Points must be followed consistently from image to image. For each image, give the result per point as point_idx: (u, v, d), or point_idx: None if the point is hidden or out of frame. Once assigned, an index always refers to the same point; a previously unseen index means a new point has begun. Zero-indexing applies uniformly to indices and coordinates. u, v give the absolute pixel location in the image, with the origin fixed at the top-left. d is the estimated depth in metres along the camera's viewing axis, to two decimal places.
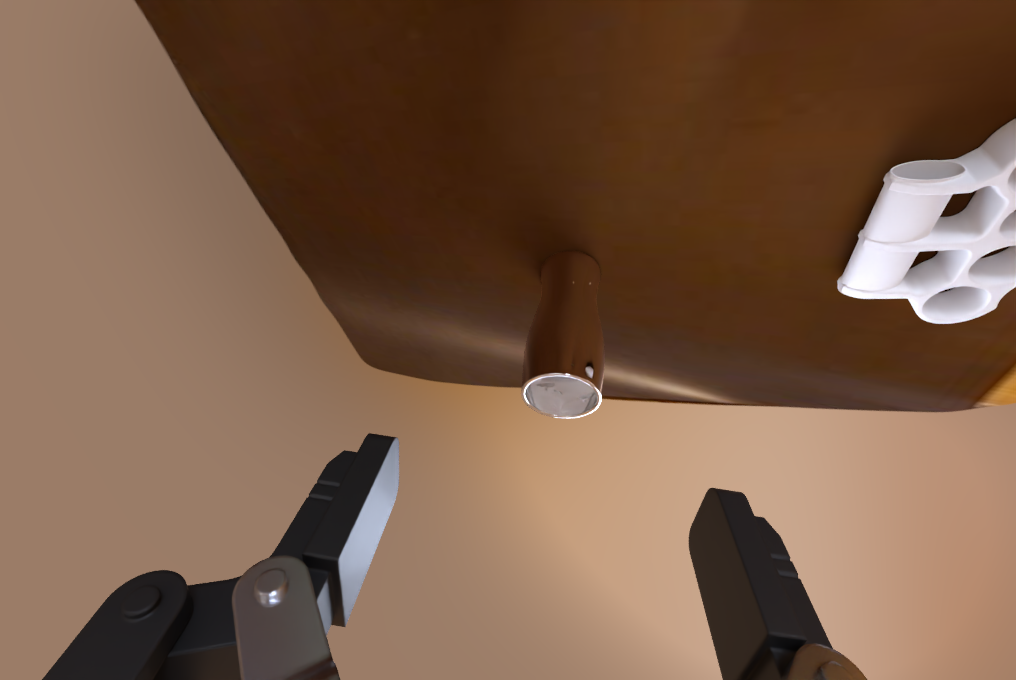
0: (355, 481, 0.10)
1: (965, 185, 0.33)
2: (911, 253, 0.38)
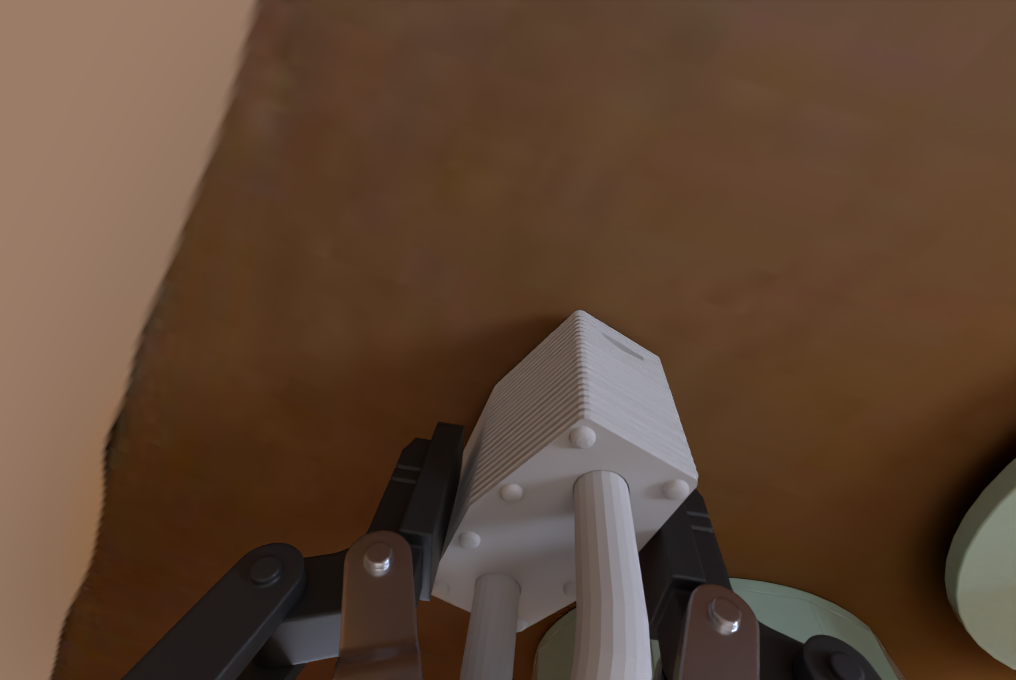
0: (435, 465, 0.11)
1: None
2: None
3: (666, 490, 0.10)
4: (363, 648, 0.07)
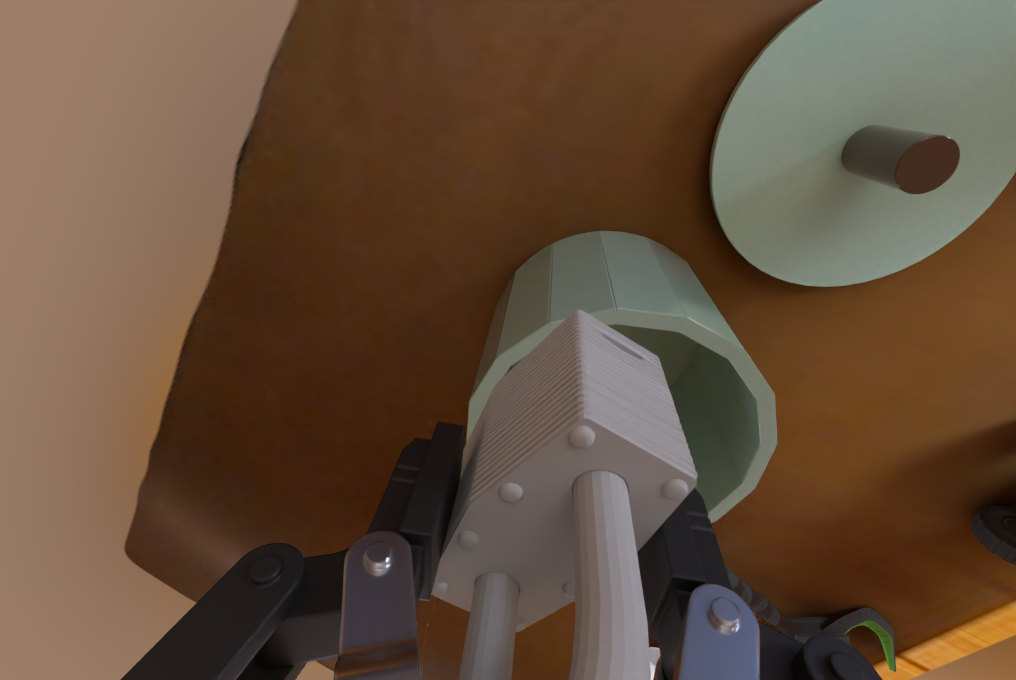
0: (435, 465, 0.11)
1: None
2: None
3: (665, 489, 0.09)
4: (363, 648, 0.07)
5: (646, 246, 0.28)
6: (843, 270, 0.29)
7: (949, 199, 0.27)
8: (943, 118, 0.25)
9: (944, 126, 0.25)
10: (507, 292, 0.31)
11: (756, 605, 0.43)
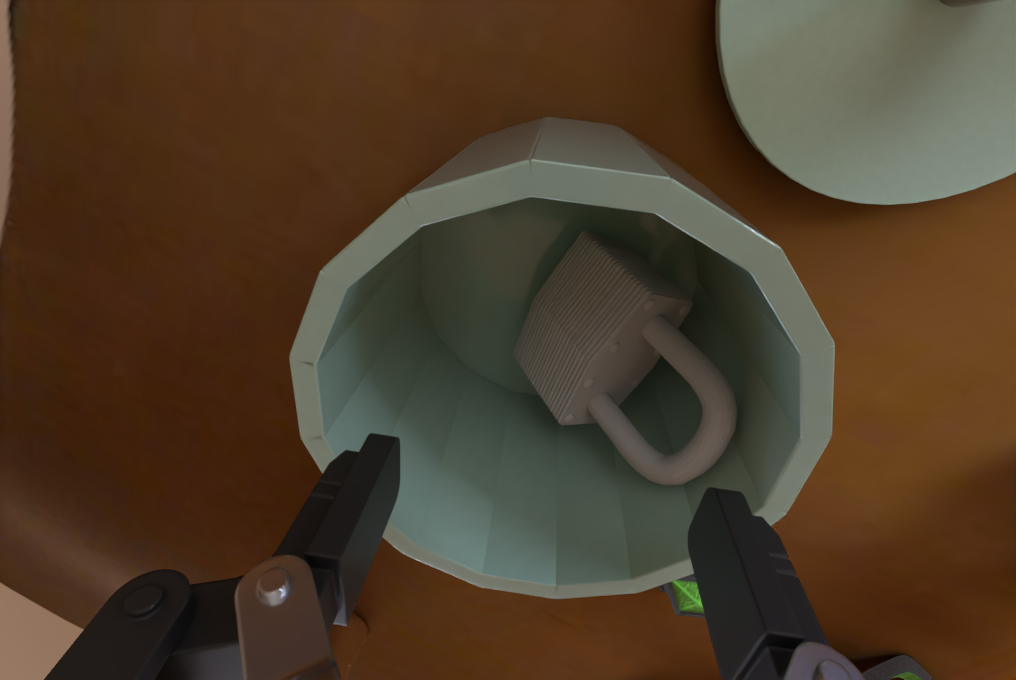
0: (357, 480, 0.10)
1: None
2: None
3: (682, 312, 0.19)
4: None
5: (615, 129, 0.18)
6: (917, 177, 0.19)
7: None
8: None
9: None
10: None
11: None
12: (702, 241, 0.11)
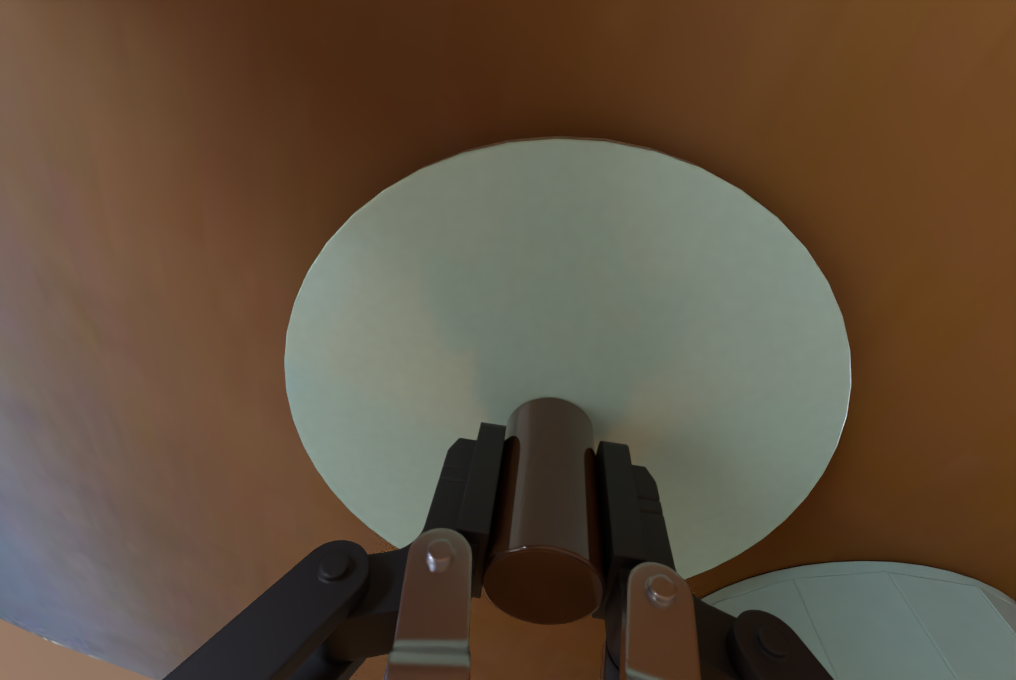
0: (483, 464, 0.11)
1: None
2: None
3: None
4: (416, 641, 0.08)
5: None
6: (803, 422, 0.13)
7: (667, 268, 0.11)
8: (495, 333, 0.13)
9: (510, 326, 0.13)
10: None
11: None
12: None
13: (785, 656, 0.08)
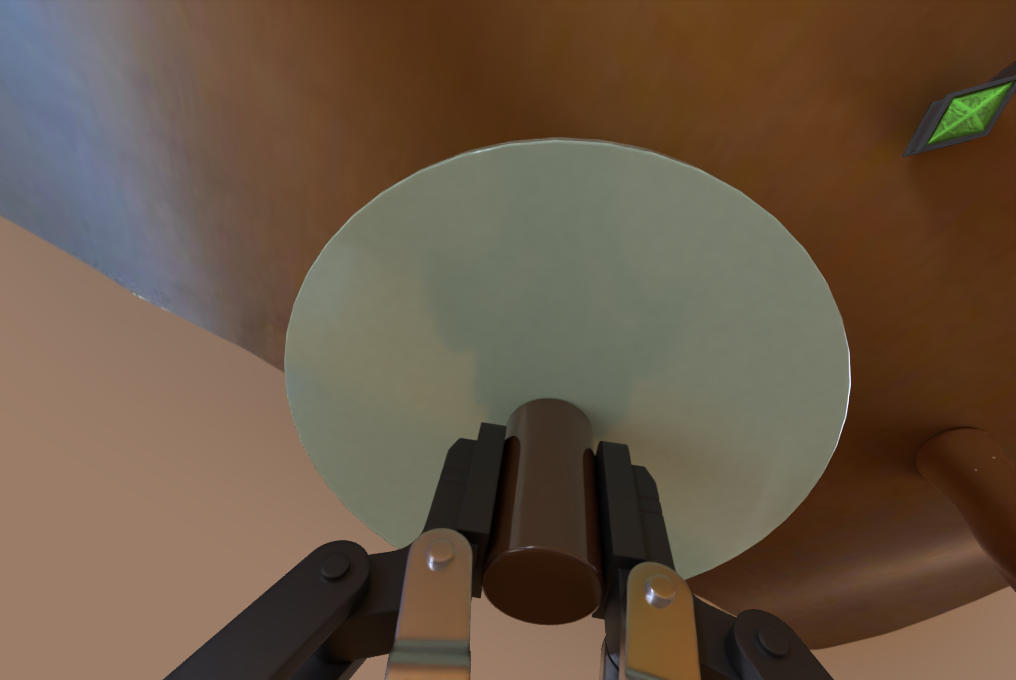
0: (483, 464, 0.11)
1: None
2: None
3: None
4: (417, 641, 0.08)
5: None
6: (802, 423, 0.13)
7: (667, 269, 0.11)
8: (495, 333, 0.13)
9: (509, 327, 0.13)
10: None
11: None
12: None
13: (785, 656, 0.08)
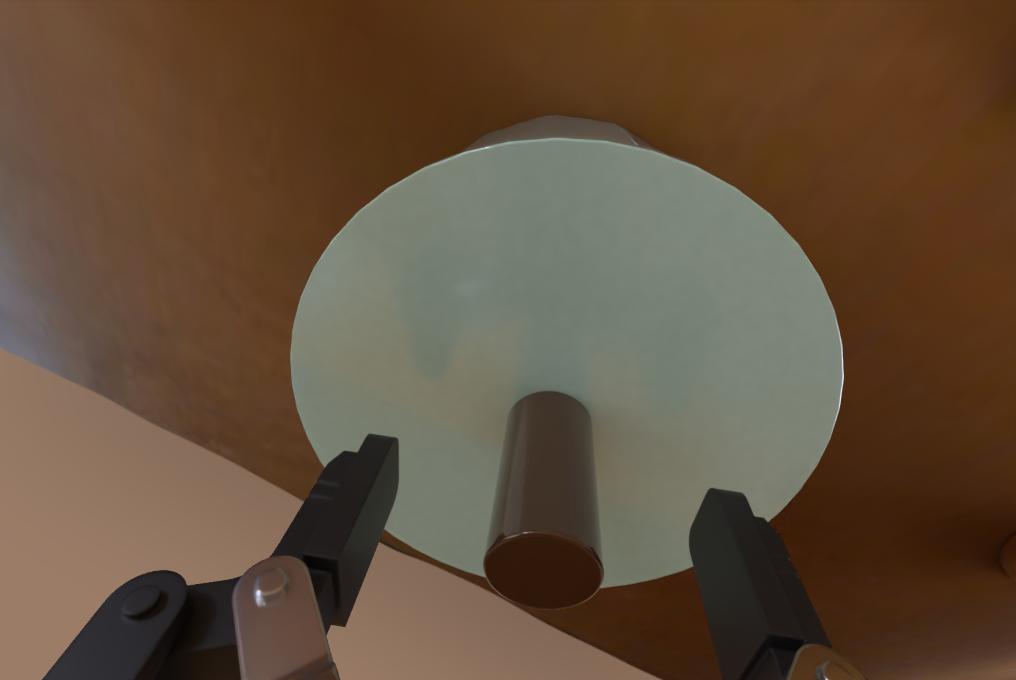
0: (355, 481, 0.10)
1: None
2: None
3: None
4: None
5: None
6: (797, 414, 0.13)
7: (664, 264, 0.12)
8: (496, 327, 0.13)
9: (510, 321, 0.13)
10: None
11: None
12: None
13: None
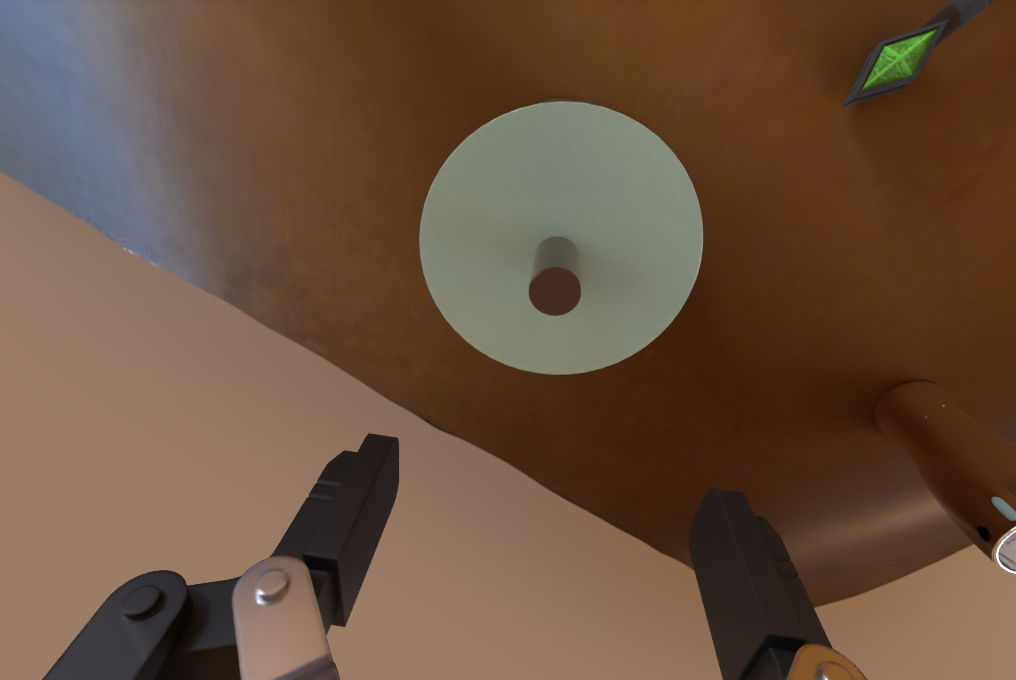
0: (355, 481, 0.10)
1: None
2: None
3: None
4: None
5: None
6: (682, 246, 0.26)
7: (611, 162, 0.25)
8: (530, 200, 0.26)
9: (537, 196, 0.26)
10: None
11: None
12: None
13: None
